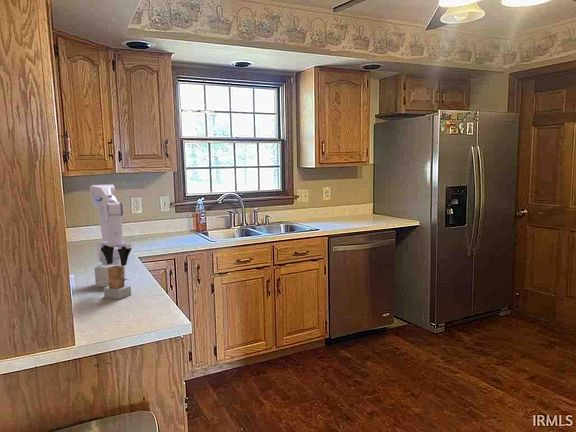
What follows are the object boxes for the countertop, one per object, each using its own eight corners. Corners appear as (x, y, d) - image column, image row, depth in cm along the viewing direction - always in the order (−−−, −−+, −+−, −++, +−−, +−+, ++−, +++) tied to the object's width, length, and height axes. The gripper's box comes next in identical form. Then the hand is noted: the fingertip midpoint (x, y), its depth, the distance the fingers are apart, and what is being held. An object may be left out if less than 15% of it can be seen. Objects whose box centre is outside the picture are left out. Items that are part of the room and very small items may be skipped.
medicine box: (118, 284, 187) (117, 264, 186) (114, 287, 183) (113, 267, 182) (99, 284, 187) (98, 264, 186) (95, 287, 182) (94, 267, 181)
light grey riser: (116, 292, 175) (115, 284, 175) (131, 294, 172) (130, 286, 172) (104, 296, 170) (103, 287, 169) (119, 299, 167) (119, 290, 166)
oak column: (117, 285, 173) (115, 265, 172) (124, 286, 171) (123, 266, 170) (109, 287, 169) (107, 267, 168) (116, 289, 168) (115, 268, 167)
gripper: (94, 232, 176) (96, 265, 178) (120, 234, 170) (122, 268, 172) (107, 230, 183) (109, 261, 184) (134, 231, 177) (135, 264, 178)
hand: (116, 264), depth 178 cm, fingers open, 7 cm apart
